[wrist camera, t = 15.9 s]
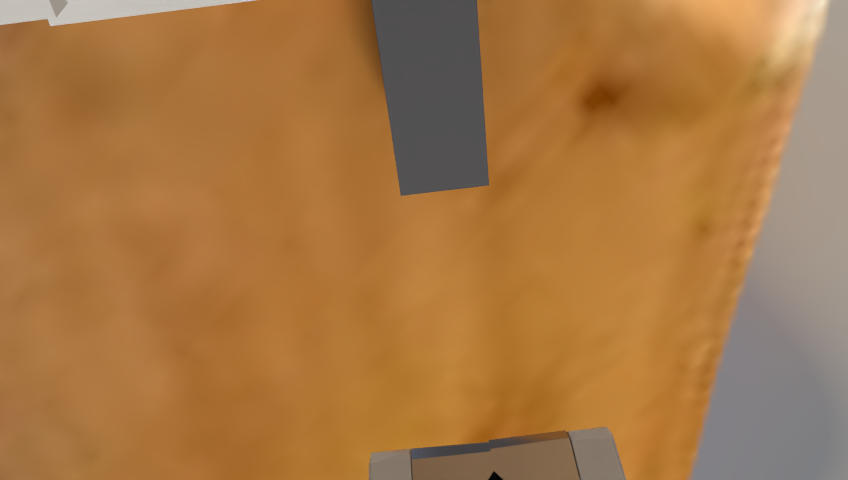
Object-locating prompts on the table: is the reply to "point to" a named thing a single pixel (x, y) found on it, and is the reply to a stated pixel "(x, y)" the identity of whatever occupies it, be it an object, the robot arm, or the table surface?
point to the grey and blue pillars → (91, 9)
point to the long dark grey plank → (433, 92)
